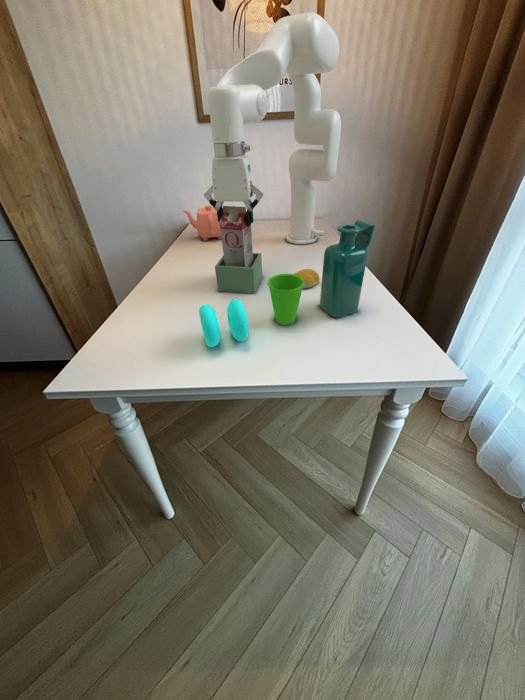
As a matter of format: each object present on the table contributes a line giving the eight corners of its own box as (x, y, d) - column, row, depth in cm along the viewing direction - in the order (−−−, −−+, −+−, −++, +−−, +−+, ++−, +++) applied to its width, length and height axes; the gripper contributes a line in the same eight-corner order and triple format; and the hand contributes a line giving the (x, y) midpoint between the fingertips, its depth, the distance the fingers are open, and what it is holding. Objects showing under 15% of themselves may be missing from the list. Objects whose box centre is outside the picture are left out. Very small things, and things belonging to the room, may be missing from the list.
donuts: (251, 348, 72) (248, 311, 66) (208, 356, 70) (201, 320, 64) (241, 325, 80) (237, 290, 74) (202, 333, 78) (196, 297, 72)
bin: (262, 276, 102) (261, 253, 97) (254, 293, 93) (253, 268, 88) (228, 275, 104) (226, 251, 99) (218, 291, 96) (214, 266, 91)
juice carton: (246, 286, 95) (241, 210, 81) (227, 283, 97) (218, 209, 83) (254, 277, 100) (249, 203, 86) (235, 275, 102) (227, 202, 88)
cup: (306, 313, 83) (308, 275, 77) (298, 332, 77) (299, 292, 70) (274, 308, 86) (273, 271, 79) (263, 326, 79) (261, 287, 72)
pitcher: (335, 320, 80) (346, 234, 67) (316, 306, 86) (323, 224, 73) (364, 310, 84) (380, 226, 70) (344, 297, 90) (355, 217, 76)
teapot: (186, 239, 135) (181, 208, 127) (212, 228, 145) (208, 199, 137) (212, 245, 127) (207, 212, 120) (237, 233, 138) (234, 203, 130)
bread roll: (323, 281, 98) (324, 269, 96) (306, 291, 93) (307, 279, 91) (302, 274, 103) (303, 262, 100) (285, 283, 98) (285, 271, 95)
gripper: (266, 148, 78) (268, 221, 89) (201, 149, 81) (211, 220, 92) (260, 152, 72) (263, 230, 83) (190, 153, 75) (202, 228, 86)
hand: (235, 224), depth 88 cm, fingers closed on juice carton, 7 cm apart
